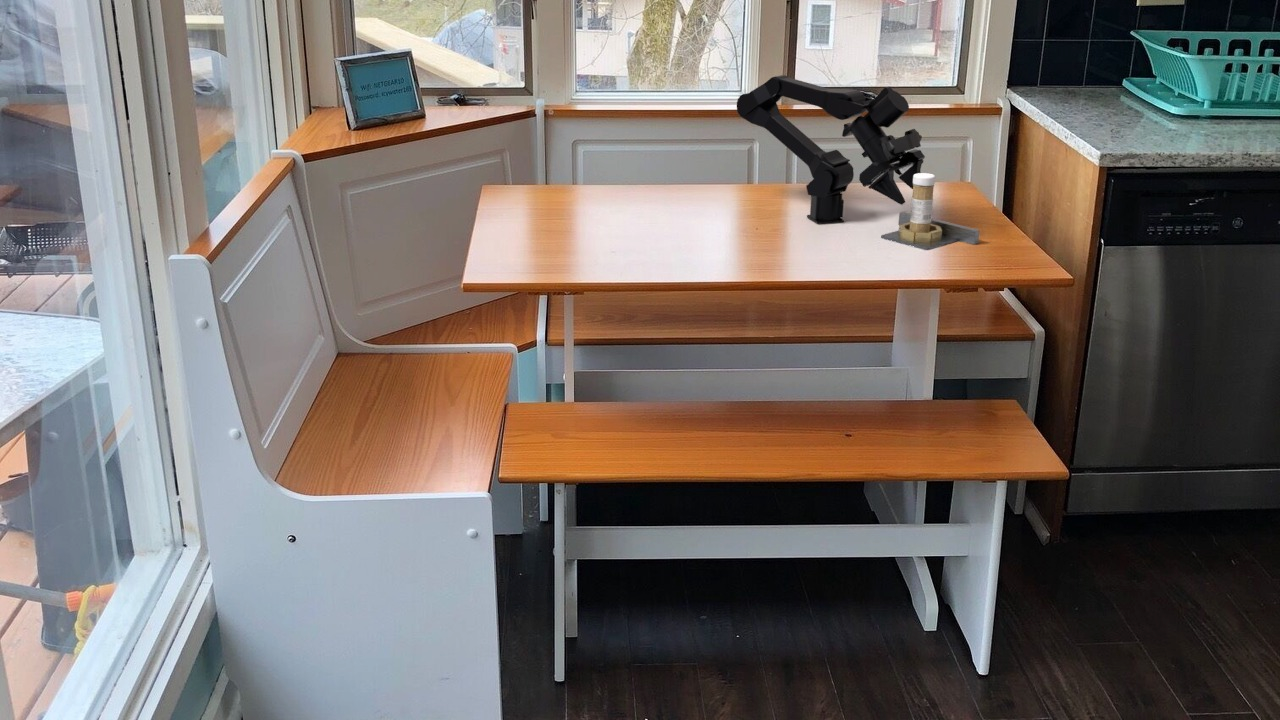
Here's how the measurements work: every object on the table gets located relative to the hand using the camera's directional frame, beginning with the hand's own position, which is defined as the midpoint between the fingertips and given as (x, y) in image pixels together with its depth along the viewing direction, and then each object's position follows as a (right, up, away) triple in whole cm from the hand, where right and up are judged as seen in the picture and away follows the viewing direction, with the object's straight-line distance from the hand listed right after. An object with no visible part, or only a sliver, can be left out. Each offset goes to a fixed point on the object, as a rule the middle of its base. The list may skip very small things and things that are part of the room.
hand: (914, 199), depth 258 cm
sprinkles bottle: (+1, -8, +2) cm, 8 cm away
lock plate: (+2, -8, +2) cm, 9 cm away
